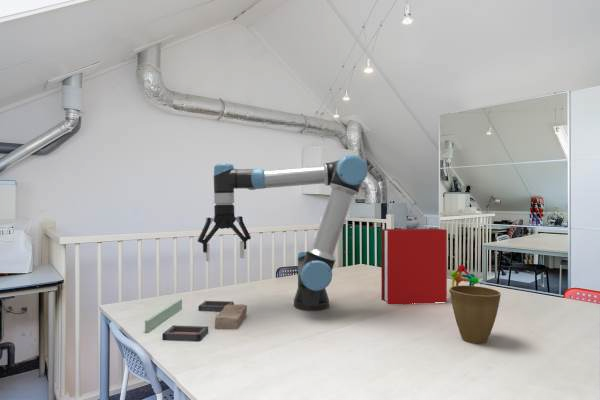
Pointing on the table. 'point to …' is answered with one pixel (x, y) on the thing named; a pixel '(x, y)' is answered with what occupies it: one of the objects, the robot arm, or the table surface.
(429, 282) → the book
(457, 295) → the plant pot
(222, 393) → the table surface
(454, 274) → the educational toy
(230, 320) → the brick
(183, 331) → the trap pits
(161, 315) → the sage end wall
